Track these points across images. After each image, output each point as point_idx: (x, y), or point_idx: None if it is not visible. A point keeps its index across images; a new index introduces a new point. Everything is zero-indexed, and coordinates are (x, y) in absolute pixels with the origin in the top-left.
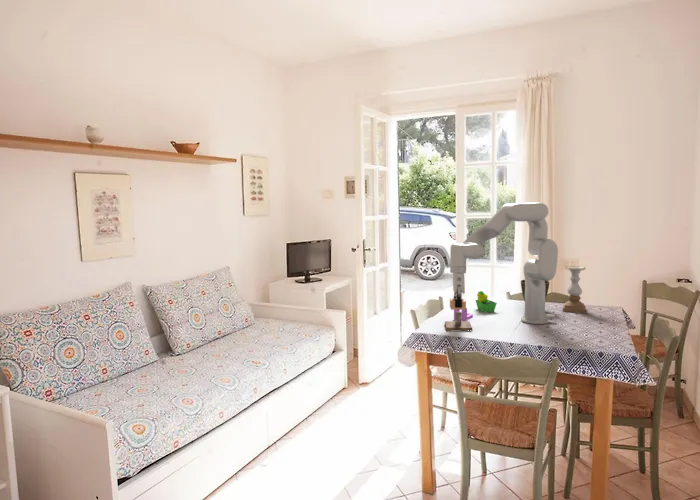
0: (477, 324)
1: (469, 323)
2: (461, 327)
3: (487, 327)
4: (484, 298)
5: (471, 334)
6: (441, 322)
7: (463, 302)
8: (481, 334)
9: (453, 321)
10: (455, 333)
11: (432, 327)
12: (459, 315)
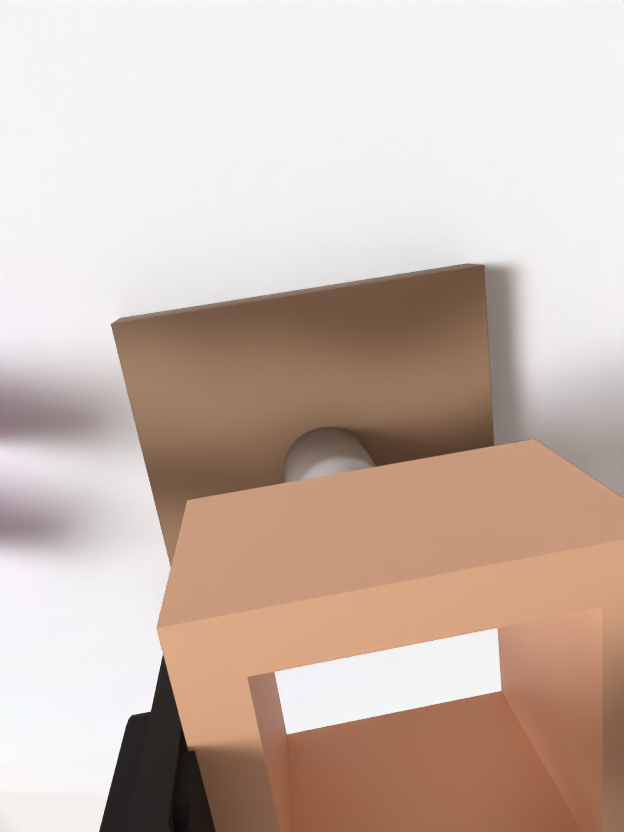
0: (83, 192)
1: (235, 316)
2: (472, 414)
3: (230, 24)
4: None
5: (619, 270)
6: (114, 665)
7: None
8: (615, 133)
9: (173, 542)
10: (584, 460)
11: (365, 715)
12: None
